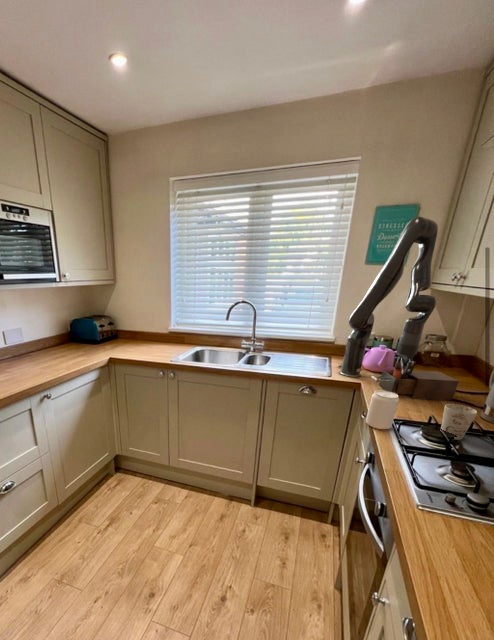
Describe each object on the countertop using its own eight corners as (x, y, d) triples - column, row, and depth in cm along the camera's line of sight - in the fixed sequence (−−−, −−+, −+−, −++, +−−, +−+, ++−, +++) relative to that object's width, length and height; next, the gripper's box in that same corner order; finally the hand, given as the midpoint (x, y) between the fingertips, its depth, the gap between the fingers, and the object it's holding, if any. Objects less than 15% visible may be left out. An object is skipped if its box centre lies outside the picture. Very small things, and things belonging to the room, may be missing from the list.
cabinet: (413, 398, 145) (418, 378, 141) (397, 387, 157) (403, 369, 154) (452, 400, 143) (459, 380, 140) (433, 389, 156) (439, 371, 152)
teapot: (360, 373, 177) (366, 348, 172) (353, 363, 196) (358, 340, 191) (406, 378, 171) (414, 352, 166) (394, 367, 191) (401, 344, 186)
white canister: (390, 423, 119) (399, 392, 115) (390, 432, 113) (400, 400, 108) (365, 418, 123) (373, 388, 118) (364, 426, 116) (372, 395, 112)
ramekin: (389, 378, 152) (391, 368, 150) (402, 379, 152) (404, 369, 150) (395, 382, 147) (397, 372, 145) (408, 383, 147) (411, 372, 145)
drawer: (376, 393, 146) (380, 378, 144) (365, 384, 158) (369, 370, 155) (426, 396, 144) (431, 381, 142) (411, 387, 156) (415, 372, 153)
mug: (433, 435, 112) (443, 408, 108) (440, 424, 120) (449, 398, 116) (464, 444, 106) (475, 416, 103) (470, 432, 114) (480, 405, 111)
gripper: (427, 347, 136) (415, 385, 142) (409, 340, 149) (399, 375, 155) (408, 346, 137) (397, 384, 143) (392, 339, 150) (382, 374, 156)
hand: (398, 379), depth 149 cm, fingers closed on ramekin, 5 cm apart
